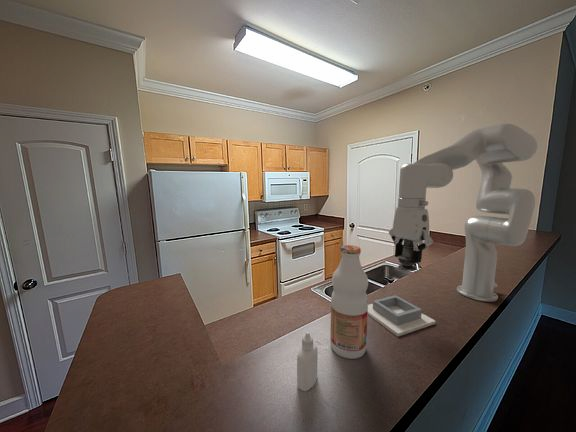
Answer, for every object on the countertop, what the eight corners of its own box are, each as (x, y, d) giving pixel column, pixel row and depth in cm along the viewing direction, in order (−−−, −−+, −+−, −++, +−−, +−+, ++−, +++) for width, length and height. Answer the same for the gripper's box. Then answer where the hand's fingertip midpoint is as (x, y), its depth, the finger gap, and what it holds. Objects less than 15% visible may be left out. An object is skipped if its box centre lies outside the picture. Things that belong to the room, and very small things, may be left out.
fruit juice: (324, 339, 65) (325, 244, 61) (353, 333, 68) (356, 241, 64) (340, 363, 56) (343, 254, 52) (373, 355, 59) (378, 250, 55)
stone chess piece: (419, 272, 70) (423, 234, 69) (399, 270, 72) (402, 233, 70) (413, 265, 76) (416, 230, 75) (394, 264, 77) (397, 229, 76)
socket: (394, 300, 87) (395, 290, 86) (435, 323, 72) (436, 312, 71) (360, 309, 81) (361, 298, 80) (397, 336, 66) (398, 323, 65)
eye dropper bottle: (292, 378, 52) (291, 330, 50) (313, 370, 54) (313, 323, 52) (300, 394, 48) (300, 342, 46) (323, 384, 50) (324, 334, 49)
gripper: (447, 205, 65) (441, 266, 67) (397, 201, 81) (394, 251, 83) (429, 206, 62) (424, 270, 64) (381, 202, 78) (378, 253, 80)
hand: (407, 258), depth 74 cm, fingers closed on stone chess piece, 5 cm apart
